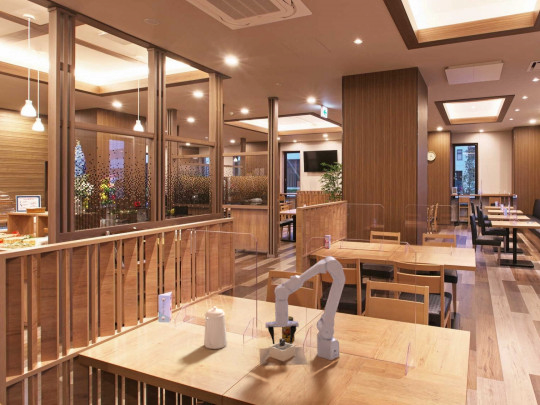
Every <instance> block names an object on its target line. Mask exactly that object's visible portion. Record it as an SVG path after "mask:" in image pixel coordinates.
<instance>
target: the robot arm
mask: <svg viewBox="0 0 540 405" xmlns="http://www.w3.org/2000/svg"><path fill="white" fill-rule="evenodd" d="M343 268H344V267H343V265H342V264H341V263H340V261H338V260H337V259H336V258H335V257H334V256H332V255H328V256H325V258H322V259H320V260H319V261H317V262H316V263H315V264H314V265H312V266H310V268H308V269H307V270H305V271H304V272H302V273H301V274H300V275H298V274H294V275H291V276H290V278H289V279H287V280H286V281H282V282H281V283H280V284H278V285H277V286H275V288H274V291H273V292H274V295H275V297H274V300H275V302H274V310H275V311H274V312H275V313H274V316H275V317H274V318H275V321H268V322H267V321H266V322H265V329H268V333H269V335H270V338H271V341H272V345H274V344H276V343H275V330H274V329H275V328H282V327H290V343H289V344H292V345H293V342H292V340H293V336H294V337H295V335H296V332H297V328H299V326H300V323H299V321H297V320H293V321H288V316H289V302H288V298H289V296H290V295H292V294H293V293H294V292H296V291H297V290H300V289H302V287H304V283H305V282H307V281H308V280H310V279H311V278H313V277H315V276H316V275H318V274H327V272H328V274H330V277H331V278H332V279H333V280H332V283H331V286H330V289H329V294H328V297H327V299H326V300H327V301H326V304H325V306H324V309H323V310H324V311H323V313H322V314H321V316H320V318H319V320H317V322H316V328H317V331H318V333H317V335H316V342H317V343H316V344H317V346H316V354H317V356H318V357H319V358H323V359H326V360H328V361H332V360H334V359H336V358H339V357H340V341H339V340H338V339H337V338H335V337H334V334H335V318H336V314H337V313H336V312H337V310H338V306H339V303H340V300H341V296H342V292H343V289H344V286H345V284H346V275H345V272H344V269H343Z"/></svg>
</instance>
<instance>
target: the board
mask: <svg viewBox="0 0 540 405" xmlns="http://www.w3.org/2000/svg"><path fill="white" fill-rule="evenodd" d="M306 357H307V356H306V354H305V350H304V347H303V346H300V347H299V346H295V356H293V357H291V358H289V359H287V360H285V361H281V360H278V359H275V358H273V357H270V347H267V348H266V347H265V348H264V347H263V348H259V366H265V367H269V366H286V365H287V366H292V365H293V366H295V365H297V366H298V365H308V361H307V358H306Z"/></svg>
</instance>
